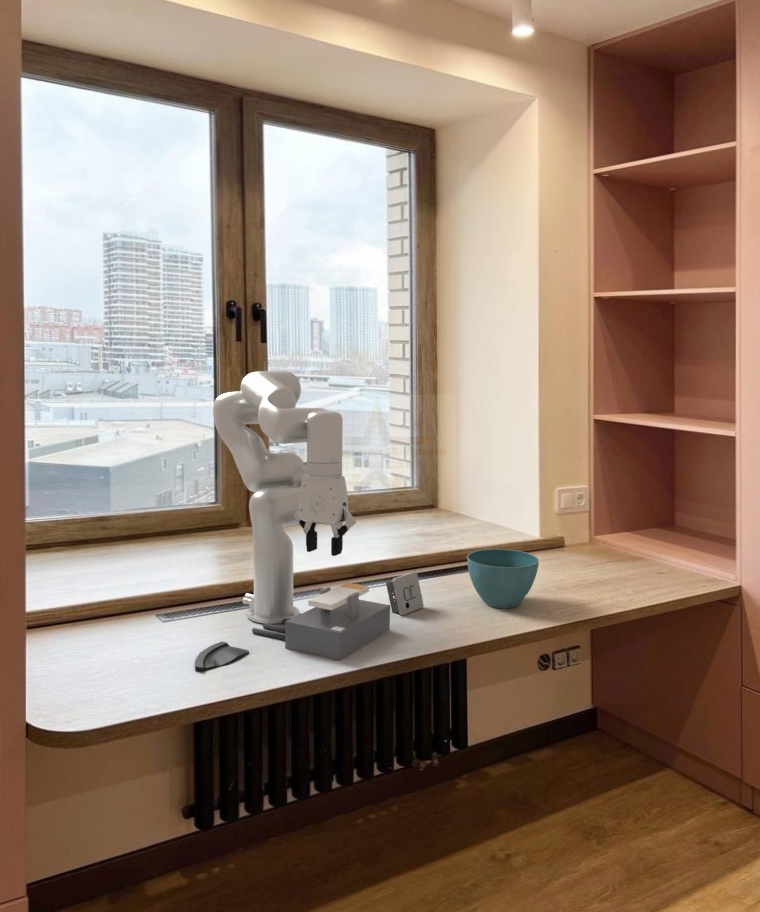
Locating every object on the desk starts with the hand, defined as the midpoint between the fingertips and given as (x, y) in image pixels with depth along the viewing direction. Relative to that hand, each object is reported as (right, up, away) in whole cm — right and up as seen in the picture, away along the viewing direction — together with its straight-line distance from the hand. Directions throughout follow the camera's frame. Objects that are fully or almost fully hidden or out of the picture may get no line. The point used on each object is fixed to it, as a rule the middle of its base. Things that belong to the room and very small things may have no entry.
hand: (324, 551), depth 176 cm
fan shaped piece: (-22, -23, -4) cm, 32 cm away
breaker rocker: (+3, -11, +7) cm, 13 cm away
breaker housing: (+3, -21, +8) cm, 22 cm away
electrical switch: (+18, -18, +29) cm, 39 cm away
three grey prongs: (-10, -20, +13) cm, 25 cm away
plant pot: (+44, -18, +36) cm, 59 cm away
